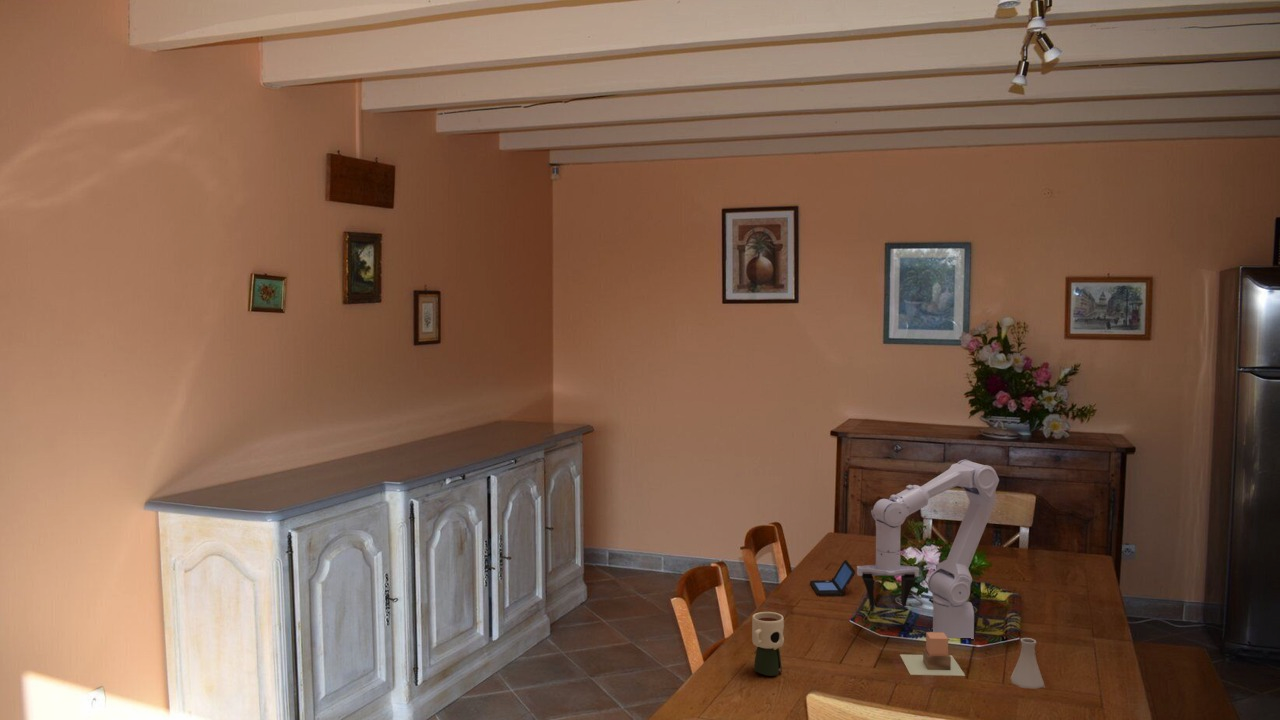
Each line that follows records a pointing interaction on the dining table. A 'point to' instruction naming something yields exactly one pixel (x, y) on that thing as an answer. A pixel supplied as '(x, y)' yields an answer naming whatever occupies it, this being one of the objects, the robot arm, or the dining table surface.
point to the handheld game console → (834, 582)
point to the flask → (1027, 667)
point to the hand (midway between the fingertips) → (887, 604)
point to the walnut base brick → (936, 661)
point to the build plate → (919, 668)
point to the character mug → (767, 642)
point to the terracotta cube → (936, 644)
